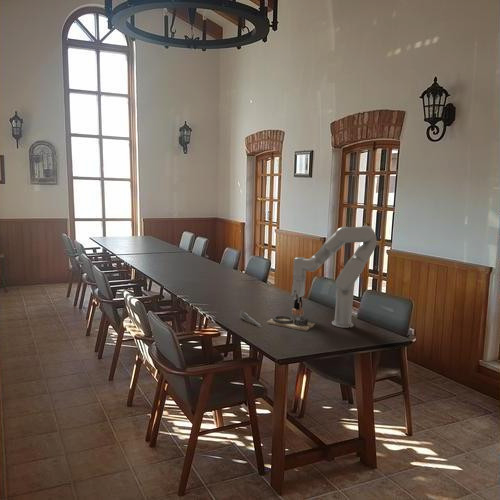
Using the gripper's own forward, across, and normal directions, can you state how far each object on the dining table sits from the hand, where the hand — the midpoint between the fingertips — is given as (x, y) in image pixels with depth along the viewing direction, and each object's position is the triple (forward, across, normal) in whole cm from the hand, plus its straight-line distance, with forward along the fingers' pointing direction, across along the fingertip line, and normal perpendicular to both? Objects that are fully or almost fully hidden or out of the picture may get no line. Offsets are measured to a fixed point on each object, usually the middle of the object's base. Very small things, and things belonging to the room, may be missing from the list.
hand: (298, 307), depth 294 cm
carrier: (+7, +13, +1) cm, 15 cm away
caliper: (+7, +25, -18) cm, 32 cm away
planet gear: (+4, 0, 0) cm, 4 cm away
